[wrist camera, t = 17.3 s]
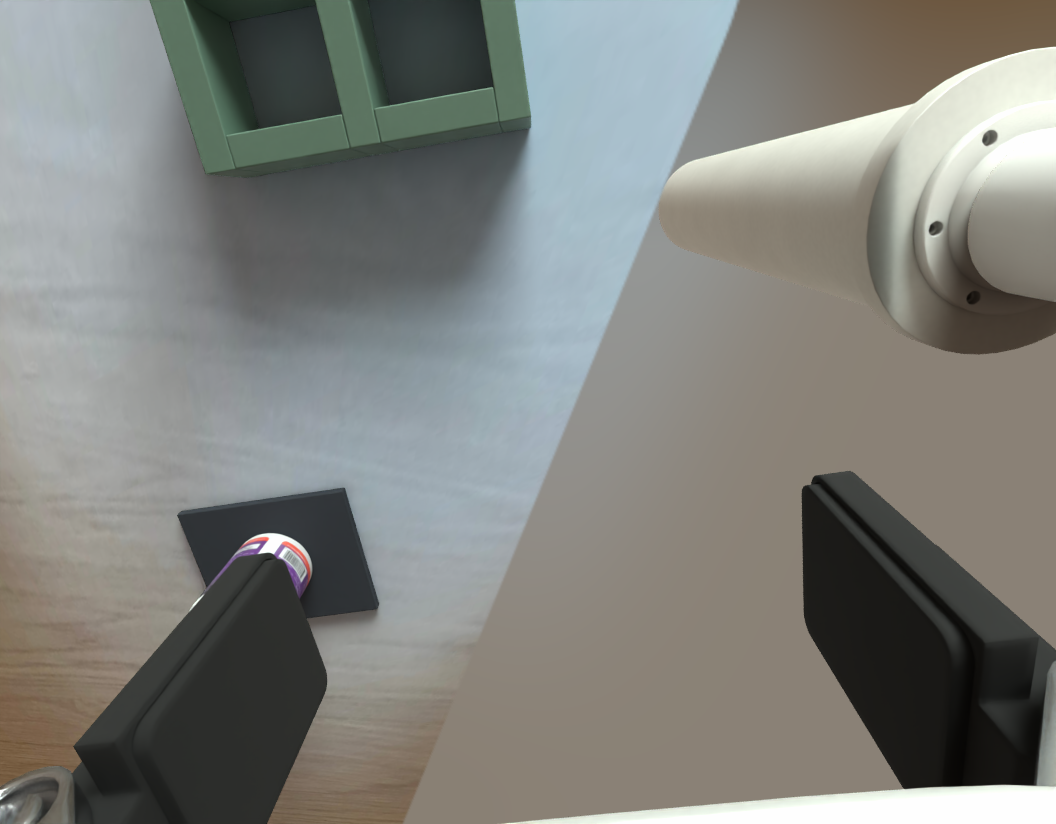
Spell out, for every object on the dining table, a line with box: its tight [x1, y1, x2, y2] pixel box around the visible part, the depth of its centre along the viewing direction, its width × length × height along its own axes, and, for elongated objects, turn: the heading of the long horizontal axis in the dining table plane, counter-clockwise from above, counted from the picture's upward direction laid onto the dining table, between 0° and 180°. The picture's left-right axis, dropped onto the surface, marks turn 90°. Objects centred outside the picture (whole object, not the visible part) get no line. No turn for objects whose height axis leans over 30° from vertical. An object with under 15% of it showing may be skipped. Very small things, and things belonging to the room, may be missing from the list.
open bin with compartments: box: [150, 0, 531, 178], centre depth 30 cm, size 17×9×4 cm, turn 99°
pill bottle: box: [189, 533, 312, 612], centre depth 37 cm, size 5×5×10 cm
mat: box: [177, 488, 379, 618], centre depth 42 cm, size 12×10×1 cm
